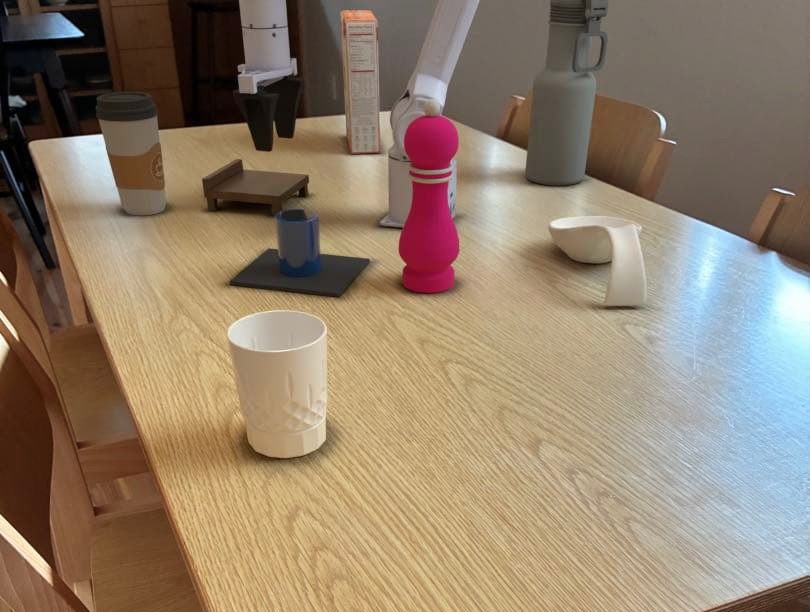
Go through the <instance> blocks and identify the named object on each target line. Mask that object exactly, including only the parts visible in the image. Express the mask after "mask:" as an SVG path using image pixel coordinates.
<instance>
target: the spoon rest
mask: <svg viewBox="0 0 810 612" xmlns="http://www.w3.org/2000/svg"><path fill="white" fill-rule="evenodd" d="M547 228H548V232H549V234H550V236H551V239H552V240H553V242H554V243H555V245H556V246H557V247H559V249H561V250H562V251H563V252H564V253H566V254H567V256H568V257H569V258H570V259H572V260H574V261H576V262H579V263H585V264H605V263H609V262H611V265H610V266H611V267H610V272H609V278H608V282H607V287H606V291H605V296H604V301H603V303H604V305H605V306H609V307H610V306H611V307H614V306H620V307H621V306H622V307H623V306H643V305H645V304H646V300H647V278H646V270H645V269H646V268H645V263H644V262H645V261H644V257H643V252H642V248H641V243H640V240H639V239H640V238H639V237H640V235H641V233H642V231H643V228H642V226H641V225H640V224H639V223H637V222H635V221H632V220H629V219H625V218H620V217H617V216H609V215H607V216H606V215H576V216H565V217H560V218H556V219H553V220H551V221H550V222H549V223H548V226H547Z"/></svg>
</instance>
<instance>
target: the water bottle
mask: <svg viewBox="0 0 810 612" xmlns="http://www.w3.org/2000/svg"><path fill="white" fill-rule="evenodd" d="M549 5H550V8H549V15H548V16H549V20H548V21H547V23H548V25H549V27H548V36H547V37H548V39H547V46H546V57H545V58H546V59H545V67H544V69H542V70H541V71H540V72H539V73H538V74H537V75H536V76H535V77H534V80H533V84H532V94H531V104H530V105H531V106H530V116H529V127H528V136H527V137H528V138H527V147H526V148H527V149H526V160H525V171H524V172H525V177H526V178H527V179H528V180H530V181H531V182H533V183H535V184H538V185H543V186H552V187H565V186H572V185H575V184H578V183H580V182H582V180H583V179H584V177H585V175H586V165H587V161H588V160H587V159H588V150H589V145H590V137H591V129H592V123H593V122H592V121H593V114H594V107H595V99H596V92H597V80H596V77H595V75H594V74H593V73H592V72H598V71H600V70H601V69H602V68H603V67H604V65H605V60H606V53H607V46H608V37H609V36H608V34H607V32H606V31H602V30H601V24H602V18H606V16H607V14H608V10H609V0H549ZM593 37H599V38H600V41H601V42H600V50H599V57H598V61H597V63H596V64H595V65H594V66H589V63H590V57H591V49H592V40H593Z"/></svg>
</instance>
